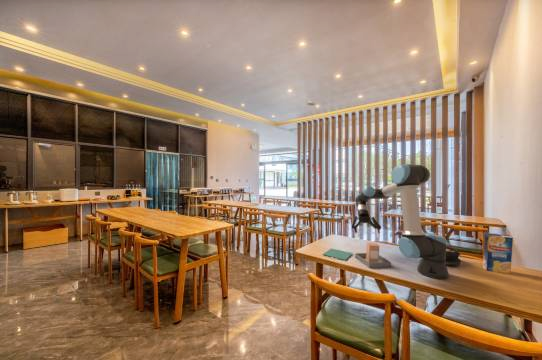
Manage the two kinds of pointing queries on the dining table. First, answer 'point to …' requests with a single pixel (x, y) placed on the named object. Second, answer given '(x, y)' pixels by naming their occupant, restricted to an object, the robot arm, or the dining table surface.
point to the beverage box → (497, 253)
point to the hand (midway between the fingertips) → (368, 237)
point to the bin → (372, 265)
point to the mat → (338, 254)
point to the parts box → (372, 252)
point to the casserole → (452, 256)
